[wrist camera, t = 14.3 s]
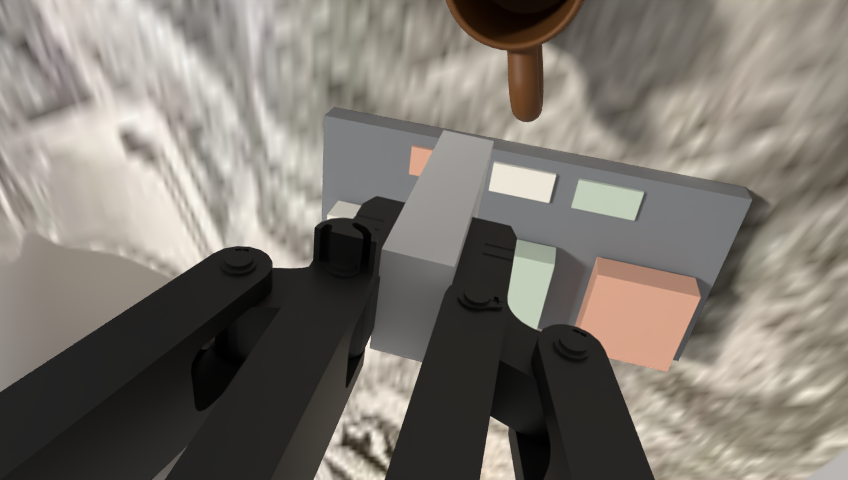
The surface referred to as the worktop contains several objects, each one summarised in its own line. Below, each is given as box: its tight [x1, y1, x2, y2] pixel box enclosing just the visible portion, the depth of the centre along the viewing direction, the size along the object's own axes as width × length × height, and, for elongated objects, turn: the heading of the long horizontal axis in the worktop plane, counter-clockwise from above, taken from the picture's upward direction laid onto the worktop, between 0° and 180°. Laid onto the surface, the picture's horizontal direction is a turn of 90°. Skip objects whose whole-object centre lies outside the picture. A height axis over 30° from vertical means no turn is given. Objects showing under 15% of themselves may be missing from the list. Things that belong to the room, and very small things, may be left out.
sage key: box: [508, 239, 556, 330], centre depth 45 cm, size 7×7×2 cm
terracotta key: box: [575, 257, 701, 372], centre depth 44 cm, size 7×7×2 cm
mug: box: [446, 0, 585, 122], centre depth 34 cm, size 12×8×9 cm, turn 9°
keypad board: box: [322, 107, 752, 361], centre depth 46 cm, size 30×14×2 cm, turn 83°
